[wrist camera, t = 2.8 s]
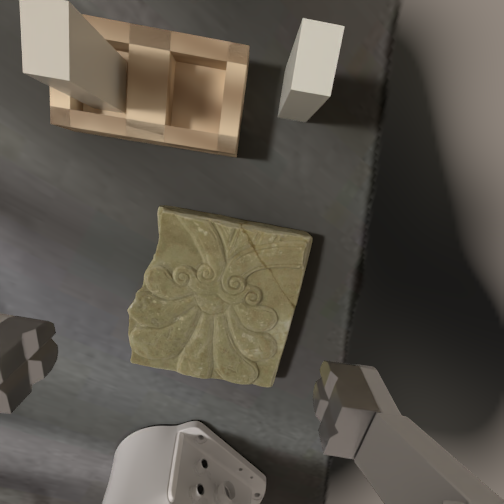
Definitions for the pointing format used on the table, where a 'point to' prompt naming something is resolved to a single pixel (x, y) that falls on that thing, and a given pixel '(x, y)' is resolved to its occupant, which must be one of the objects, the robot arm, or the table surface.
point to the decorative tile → (218, 297)
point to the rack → (167, 90)
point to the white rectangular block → (310, 69)
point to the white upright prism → (71, 55)
